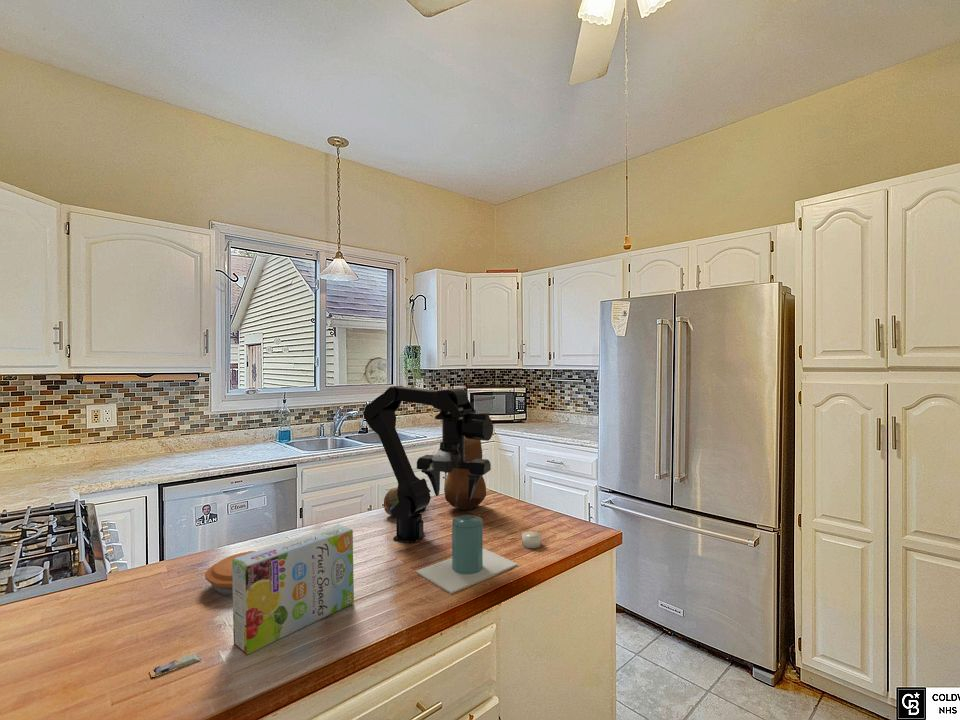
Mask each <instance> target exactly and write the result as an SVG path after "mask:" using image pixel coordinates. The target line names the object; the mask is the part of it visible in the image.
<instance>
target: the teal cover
mask: <svg viewBox="0 0 960 720" xmlns="http://www.w3.org/2000/svg"><path fill="white" fill-rule="evenodd" d="M483 522H484V521H483V518H482V517H480V516H477V515H472V514H464V515H458V516H456V517H453V518H452V524H451V530H452V531H451V550H452V551H451V553H452V554H451V558H452V569H453V570H454V571H455V572H457V573H460V574H474V573H478V572H479V571H481V570H482V569H483V548H484V547H483V541H484V539H483V537H484V536H483V527H484V526H483Z"/></svg>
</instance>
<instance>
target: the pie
mask: <svg viewBox="0 0 960 720" xmlns="http://www.w3.org/2000/svg"><path fill="white" fill-rule="evenodd" d="M255 551H256V550H251V551H245V552H240V553H235V554H233V555H229V556H227V557H225V558H223V559H221V560H219V561H218V562H216V563H215V564H213V565H211V566H210V567H209V568H208V569H207V570H206V571H205V572H204V578H205V580H206V581H207V582H208V583H210V585H211V586H212V587H213V588H214V590H215V591H216V592H217V593H219V595H223V596H229V597H230V596H231V597H233V578H232V560H233V559H234V558H237V557H240V556H243V555H246V554H249V553H252V552H255Z"/></svg>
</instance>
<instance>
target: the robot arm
mask: <svg viewBox="0 0 960 720" xmlns="http://www.w3.org/2000/svg"><path fill="white" fill-rule="evenodd" d="M468 398H469V397H468V394H467V392H466V391H465V390H464V389H463V388H458V387H457V388H449V389H448V388H447V389H438V390H437V389H436V390H435V389H426V388H418V387H417V388H416V387H408V386H403V385H393V386H392V385H391V386H389V387H388V388H387V389H386V390H385V391H384V392H383V393H382V394H380V395H379V396H377V397H376V398H375V399H373V400H372V401H371V402H370V403H368V404H366V405H365V408H364V410H363V418H364V420H365V422H366V423H367V425H368V427H369V428H370V429H371V430H372V431H373V432H374V433H375V434H377V436H378V437H379V440H380V442H381V444H382V447H383V450H384V452H385V455H386V457H387V460H388V461H389V464H390V467H391V469H392V471H393V473H394V476H395V479H396V481H397V487H398V490H397V496H398V500H399V503H398V504H397V505H396V506H395V507H394V508H393V509H392V510H391V512H392V515H391V516H392V519H396V525H395V526H396V533H395V534H396V535H395V536H394V537H393V538H392V539H393V540H394V541H400V542H404V543H405V542H407V543H413V544H414V543H417V541H418V540H420V539H421V538H422V537H423V536H425V532H424V520H423V513H425V512H426V510H427V506H428V505H429V504H430V501H431V499H432V497H431V494H430V493H431V492H432V491H431V489H430V488H429V487H428V484H427V480H426V479H425V478H421V479H420V478H419V477H417V476H416V474H415V472H414V471H413V470H414V469H413V467H412V465H411V463H410V460H409V458H408V455H407V453H406V451H405V449H404V446H403V443H402V441H401V439H400V437H399V434H398V431H397V429H396V423H397V415H396V411H397V410H398V409H399V408H400V407H401V404H402V402H405V403H411V404H413V403H414V404H420V405H421V404H422V405H429V406H431V407H433V408H434V409H437V410H439V413H438V414H437V415H436V416H434V419H435V420H441V421H442V422H441V425H442V429H441V432H442V433H441V434H442V435H441V437H442V440H441V442H439V443H440V444H439V449H438V451H437V452H436V453H435V454H425V455H423V456H419V458H418V459H417V461H416V469H417V470H420V471H421V473H424V474H425V475H426V476H427V477H428V479H429V481H430V484H431V487H432V489H433V492H434V495H435V497H439V496H440V486H441V473H446V474H448V473H449V472H451V471H452V469H453V468H460V469H469V472H470V474H469V475H468V478H469V489H468V499H469V500H471V498H472V496H473V493H474V491H475V488H476V485H477V483H478V481H479V479H480V477H481V476H484V475H486V474H487V473H489V472H490V471H491V470H492V468H491V467H492V465H491V464H492V463H491V461H490V460H489V459H485V458H482V459H474V460H473V461H471V462H466V461H464V460H466V456H465V455H464V445H465V444H466V440H464V436H465V437H466V438H467V439H475V440H481V441H486V442H488V441H490V440H491V439H492V437H493V434H494V425H493V421H492V419H491V418H490V413H489V412H482V413H480V412H476V410H475V408H474V406H473V404H472V403H471V402H470V400H469V399H468Z"/></svg>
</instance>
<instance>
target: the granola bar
mask: <svg viewBox="0 0 960 720" xmlns="http://www.w3.org/2000/svg"><path fill="white" fill-rule="evenodd" d="M197 661H198V662H199V661H201V658H200V657H199V655H198V653H191V654H188V655H185V656H182V657H180V658H178V659H174V660H172V661H170V662H167V663H164V664H162V665H159V666H156V667H154V669H152V670H153V671H154V672H155V675H154V676H156V675H159V674H163V673H165V672H168V671H170V672H172V671H171V670H173V669H175V668H178V669H180V668H179V667H181V668H183V667H182V666H184V665H186V666H188V665H187V664H189V665H190V664H194V663H195V662H196V663H197ZM184 667H185V666H184ZM173 671H174V670H173ZM168 673H169V672H168ZM165 674H166V673H165ZM163 675H164V674H163Z"/></svg>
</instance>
